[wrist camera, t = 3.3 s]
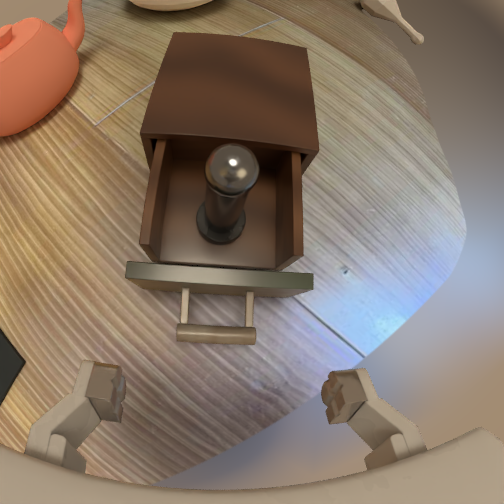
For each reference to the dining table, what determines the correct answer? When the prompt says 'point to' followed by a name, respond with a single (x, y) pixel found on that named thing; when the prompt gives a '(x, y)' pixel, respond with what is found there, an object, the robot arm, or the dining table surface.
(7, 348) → the mat
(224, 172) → the domed metal post
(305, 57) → the cabinet
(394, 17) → the chicken leg
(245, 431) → the dining table surface
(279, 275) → the drawer
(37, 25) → the teapot
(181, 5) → the bowl
